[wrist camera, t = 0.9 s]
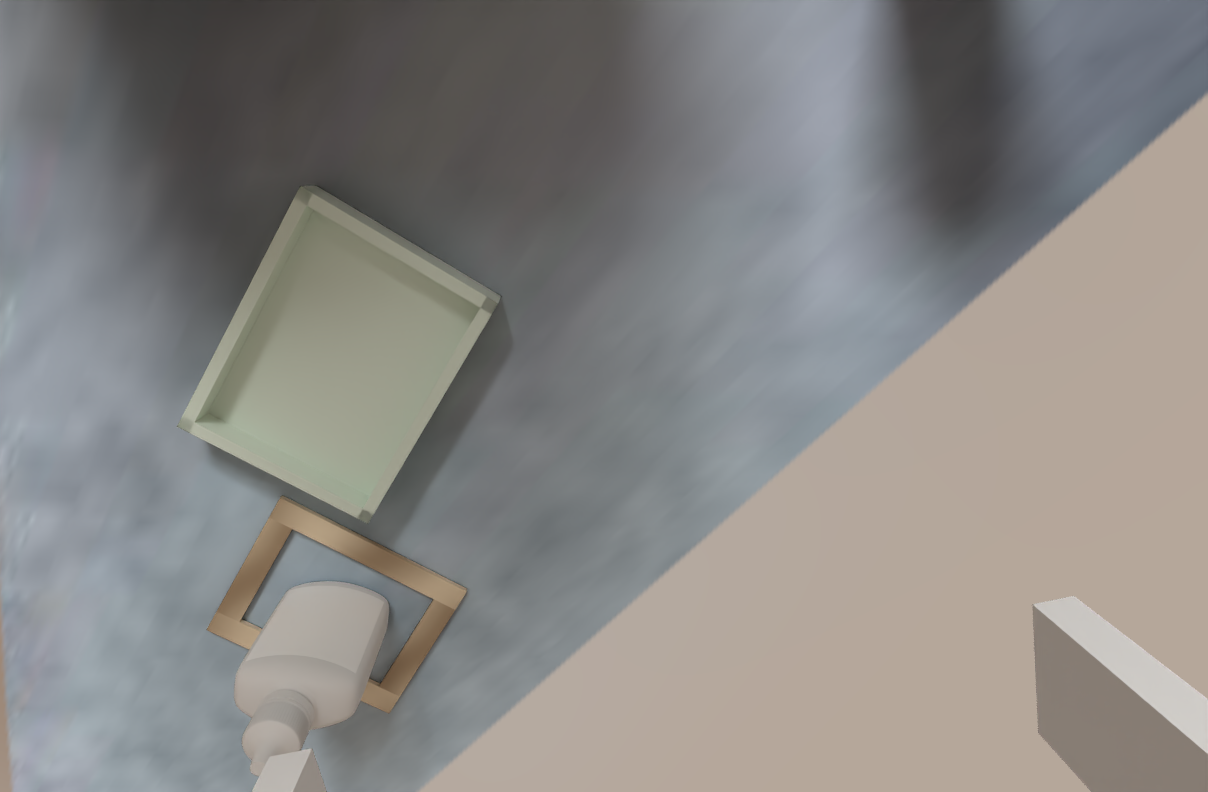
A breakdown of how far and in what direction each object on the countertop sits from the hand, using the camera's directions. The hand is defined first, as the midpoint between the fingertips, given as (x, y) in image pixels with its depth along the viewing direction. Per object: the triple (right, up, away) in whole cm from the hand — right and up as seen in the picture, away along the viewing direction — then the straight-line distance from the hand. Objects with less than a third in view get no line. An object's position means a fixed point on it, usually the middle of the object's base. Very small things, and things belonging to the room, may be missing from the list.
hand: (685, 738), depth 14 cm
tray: (-14, +8, +25) cm, 30 cm away
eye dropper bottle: (-16, -5, +29) cm, 33 cm away
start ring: (-16, -5, +28) cm, 33 cm away
